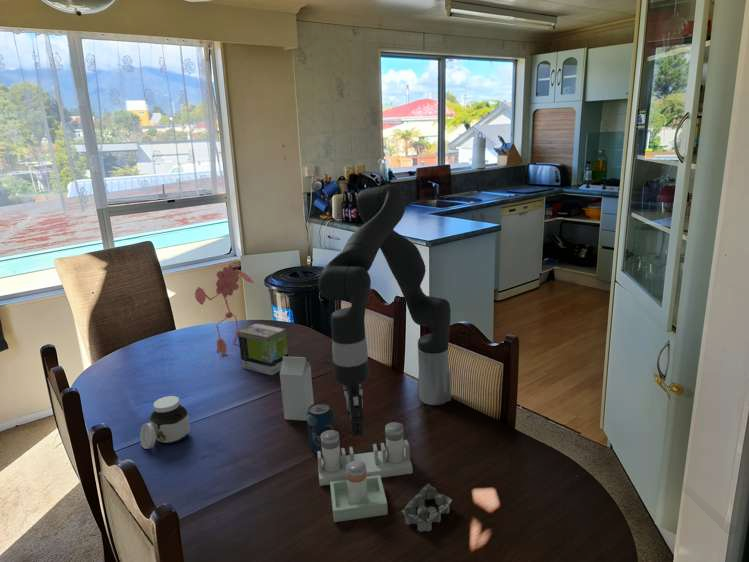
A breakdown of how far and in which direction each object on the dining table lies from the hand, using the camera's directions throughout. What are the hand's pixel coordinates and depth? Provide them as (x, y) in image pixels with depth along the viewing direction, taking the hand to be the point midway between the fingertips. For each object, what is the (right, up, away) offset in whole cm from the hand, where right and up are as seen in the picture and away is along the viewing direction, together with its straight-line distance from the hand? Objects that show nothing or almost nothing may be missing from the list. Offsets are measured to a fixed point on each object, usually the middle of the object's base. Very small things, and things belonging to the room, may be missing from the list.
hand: (355, 424), depth 117 cm
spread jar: (-55, -14, +34) cm, 66 cm away
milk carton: (-19, -9, +44) cm, 49 cm away
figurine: (-50, +4, +93) cm, 106 cm away
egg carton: (+16, -20, 0) cm, 26 cm away
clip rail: (+2, -16, +16) cm, 23 cm away
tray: (0, -19, +5) cm, 20 cm away
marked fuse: (0, -19, +4) cm, 19 cm away
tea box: (-36, 0, +78) cm, 86 cm away
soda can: (-10, -14, +27) cm, 32 cm away
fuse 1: (-6, -15, +15) cm, 22 cm away
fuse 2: (+10, -13, +17) cm, 24 cm away
